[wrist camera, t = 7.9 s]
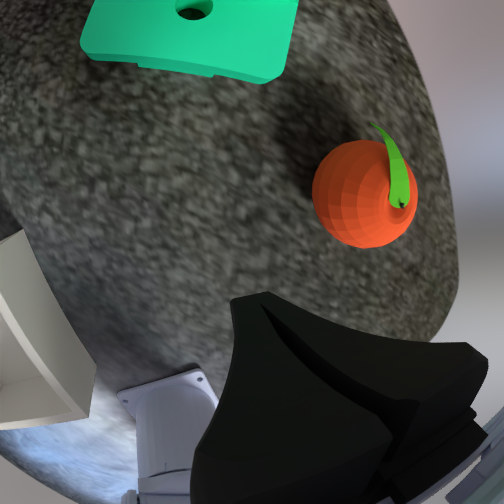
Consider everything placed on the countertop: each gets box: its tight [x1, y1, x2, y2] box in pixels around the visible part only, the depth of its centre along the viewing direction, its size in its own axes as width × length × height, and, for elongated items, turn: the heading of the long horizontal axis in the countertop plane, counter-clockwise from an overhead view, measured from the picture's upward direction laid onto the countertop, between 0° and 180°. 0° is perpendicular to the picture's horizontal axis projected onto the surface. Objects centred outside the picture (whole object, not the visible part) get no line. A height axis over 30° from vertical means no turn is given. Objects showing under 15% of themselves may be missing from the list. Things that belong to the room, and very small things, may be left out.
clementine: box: [312, 122, 418, 248], centre depth 18 cm, size 8×7×7 cm
